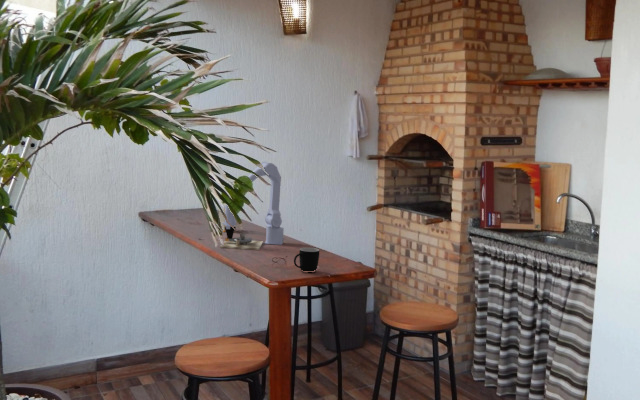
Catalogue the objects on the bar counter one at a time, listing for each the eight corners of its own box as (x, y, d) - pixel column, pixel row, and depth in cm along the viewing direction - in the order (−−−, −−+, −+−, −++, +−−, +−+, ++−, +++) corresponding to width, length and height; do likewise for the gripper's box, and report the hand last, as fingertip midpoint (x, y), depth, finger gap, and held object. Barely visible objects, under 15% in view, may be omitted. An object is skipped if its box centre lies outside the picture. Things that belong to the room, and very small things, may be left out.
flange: (251, 239, 368) (251, 237, 367) (252, 243, 358) (252, 240, 358) (225, 239, 366) (225, 236, 365) (225, 242, 356) (225, 240, 356)
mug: (312, 268, 316) (313, 247, 314) (321, 273, 308) (323, 250, 307) (289, 270, 310) (290, 248, 309) (298, 274, 302) (299, 252, 301)
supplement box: (224, 232, 399) (225, 209, 397) (218, 231, 401) (219, 208, 400) (234, 230, 405) (235, 208, 403) (228, 229, 408) (229, 207, 406)
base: (263, 242, 372) (263, 231, 371) (258, 250, 352) (259, 238, 351) (226, 240, 372) (226, 229, 372) (219, 247, 353) (220, 236, 352)
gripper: (225, 212, 368) (224, 237, 370) (220, 216, 354) (219, 242, 356) (238, 213, 368) (237, 238, 370) (234, 217, 354) (233, 243, 355)
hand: (229, 240), depth 363 cm, fingers closed, pressing on flange
